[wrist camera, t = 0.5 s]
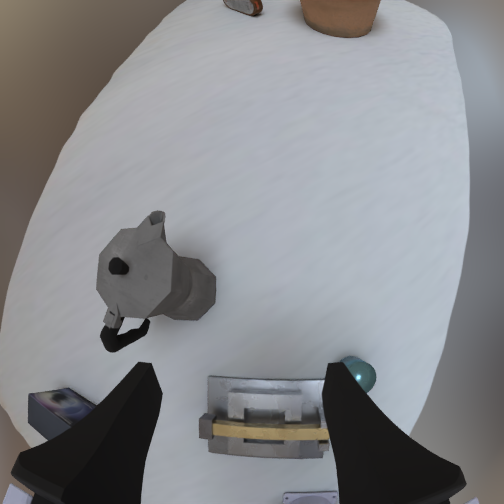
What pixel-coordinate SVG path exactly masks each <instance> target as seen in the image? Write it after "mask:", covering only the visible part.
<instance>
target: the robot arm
mask: <svg viewBox="0 0 504 504" xmlns="http://www.w3.org/2000/svg"><path fill="white" fill-rule="evenodd" d="M162 395H163V393H162V390H161V388H160V385H159V382H158V380H157V377H156V374H155V371H154V369H153V366H152V363H145V362H138V363H137V364H136V365H135V366H134V367H133V368H132V369H131V371H130V372H129V373H128V374H127V375H126V376H125V377H124V378H123V379H122V381H121V382H120V383H119V384H118V385H117V386H116V387H115V388H114V389H113V390H112V391H111V392H110V393H109V395H108V396H107V397H106V398H105V399H104V400H103V401H102V402H100V403H99V404H98V405H97V406H96V407H95V408H94V409H93V410H92V411H91V412H90V413H89V414H87V415H86V416H85V417H84V418H83V419H81V420H80V421H79V422H77V423H76V424H75V425H73V426H72V427H70V428H69V429H67V430H66V431H64V432H63V433H61V434H60V435H58V436H56V437H54V438H53V439H51V440H49V441H47V442H45V443H43V444H41V445H38V446H36V447H34V448H31V449H28V450H26V451H23V452H20V454H19V456H18V458H17V460H16V462H15V464H14V466H13V469H12V471H11V474H12V476H13V477H14V478H15V479H17V480H18V481H19V482H20V483H22V484H23V485H25V486H26V487H27V488H29V489H30V490H32V491H33V492H34V493H35V494H34V497H33V496H31V495H29V494H28V493H26V492H25V491H23V490H21V489H20V488H18V487H17V486H15V485H14V484H10V486H9V488H8V491H7V493H6V496H5V498H4V501H3V504H141V492H142V482H143V474H144V468H145V461H146V457H147V453H148V450H149V446H150V443H151V440H152V436H153V433H154V430H155V427H156V423H157V420H158V417H159V413H160V407H161V401H162ZM322 402H323V410H324V416H325V421H326V425H327V429H328V433H329V437H330V441H331V445H332V449H333V453H334V457H335V462H336V469H337V478H338V489H339V503H340V504H450V501H449V498H450V497H452V496H453V495H455V494H456V493H458V492H459V491H460V490H462V489H463V488H464V487H465V486H466V481H465V478H464V475H463V472H462V471H461V468H460V467H459V466H458V465H455V464H453V463H451V462H449V461H447V460H445V459H443V458H440V457H439V456H437V455H436V454H434V453H432V452H430V451H429V450H427V449H426V448H424V447H423V446H421V445H420V444H419V443H417V442H416V441H414V440H413V439H412V438H410V437H409V436H408V435H407V434H405V433H404V432H403V431H402V430H401V429H399V428H398V427H397V426H396V425H395V424H394V423H393V422H392V421H391V420H390V419H389V418H388V417H387V416H386V415H385V414H384V413H383V412H382V411H381V410H380V409H379V408H378V407H377V405H376V404H375V403H374V402H373V401H372V400H371V398H370V397H369V396H368V395H367V393H366V392H365V391H364V390H363V388H362V387H361V386H360V385H359V383H358V382H357V381H356V379H355V378H354V376H353V375H352V374H351V372H350V371H349V369H348V368H347V366H346V365H345V364H344V363H343V362H337V363H328V367H327V371H326V376H325V381H324V385H323V390H322ZM333 496H335V497H333ZM337 496H338V493H337V492H336V491H332V492H313V493H285V494H284V498H283V504H336V501H337ZM286 497H288V498H286ZM464 504H479V501H478V499H477V497H475V498H473V499H471V500H469V501H468V502H466V503H464Z"/></svg>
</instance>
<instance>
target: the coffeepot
mask: <svg viewBox="0 0 504 504" xmlns="http://www.w3.org/2000/svg"><path fill="white" fill-rule="evenodd" d="M164 222H165V212H162V211H154V212H152V213H151V214H150V215H149V216H147V217H146V218H145V219H144V221H143V222H142V223H141V224H140V225H139V226H138V227H137V228H128V229H121V230H120V231H119V232H118V233H117V234H116V236H115V237H114V238H113V239H112V240H111V241H110V243H109V244H108V245H107V246H106V247H105V248H104V250H103V251H102V252H101V253H100V254H99V263H98V273H97V285H96V290H97V291H98V293H99V294H100V296H101V297H102V299H103V300H104V302H105V303H106V305H107V306H108V309H107V312H106V315H105V318H104V320H103V322H104V323H105V326H104V328H103V329H102V331H101V334H100V338H101V340H102V342H103V345H104V347H105V349H106V350H107V351H109V352H117V351H119V350H120V349H122V348H123V347H125V346H127V345H129V344H131V343H133V342H135V341H136V340H138V339H140V338H141V337H143V336H145V335H146V334H147V332H148V329H149V325H150V320H148V319H147V318H149V317H153V316H157V315H161V314H164V315H166V316H168V317H170V318H172V319H175V320H196V321H197V320H198V319H199V318H200V317H201V316H203V315H204V314H205V313H206V312H207V311H208V310H209V309H210V307H211V306H212V305H213V304H214V303H215V295H216V277H215V276H214V275H213V274H212V273H211V271H210V270H209V269H208V268H207V267H206V266H205V265H204V264H203V263H202V262H201V261H200V260H199V259H192V258H186V257H179V256H178V255H177V254H176V253H175V252H174V251H173V250H172V249H171V247H170V246H169V245H168V244H167V243H166V236H165V229H164ZM125 317H130V318H143V319H145V320H144V322H143V323H142V325H141V326H140V328H139V329H131V330H129V331H128V332H126V333H124V334H120V335H117V334H118V331H119V329H120V327H121V325H122V323H123V320H124V318H125Z"/></svg>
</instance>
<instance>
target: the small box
mask: <svg viewBox="0 0 504 504" xmlns="http://www.w3.org/2000/svg"><path fill="white" fill-rule="evenodd" d="M95 407H96V405H94V404H93V403H91V402H90V401H88V400H86V399H85V398H83V397H82V396H80V395H79V394H77V393H76V392H74V391H73V390H71V389H70V388H64V389H58V390H52V391H45V392H38V393H30V394H29V396H28V423H29V424H30V425H31V426H32V427H33V428H34V429H35V430H37V431H38V432H39V433H40V434H41V435H42V436H43V437H45V438H46V439H47V440H48V441H49V440H51V439H53V438H54V437H56V436H58V435H60V434H61V433H63V432H64V431H66V430H67V429H69V428H70V427H72V426H73V425H75V424H76V423H77V422H79V421H80V420H81V419H83V418H84V417H85V416H86V415H87V414H89V413H90V412H91V411H92V410H93V409H94V408H95Z"/></svg>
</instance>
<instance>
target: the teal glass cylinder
mask: <svg viewBox="0 0 504 504" xmlns="http://www.w3.org/2000/svg"><path fill="white" fill-rule="evenodd" d="M340 362H343V363H344V364H345V365H346V366H347V368H348V369H349V371H350V372H351V374H352V375H353V376H354V378H355V379H356V381H357V382H358V383H359V385H360V386H361V387H362V388H363V390H364V391H365V392H366V393H367V392H369V391H370V390H371V389H372V388H373V386H374V384H375V382H376V372H375V370H374V368H373V367H372V366H371V365H370V364H368V363H366V362H365V361H363V360H361V359H359V358H358V357H355V356H348V357H345V358H343V359H342V360H341V361H340Z"/></svg>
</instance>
